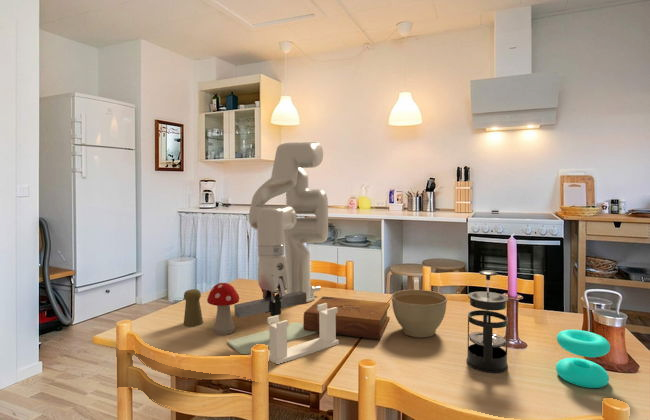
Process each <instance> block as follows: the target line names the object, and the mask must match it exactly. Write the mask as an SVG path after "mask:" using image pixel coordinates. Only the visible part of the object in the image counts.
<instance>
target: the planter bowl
mask: <svg viewBox="0 0 650 420" xmlns="http://www.w3.org/2000/svg"><path fill="white" fill-rule="evenodd" d="M390 298H391V302H392V311H393V314H394V317H395V319H396V321H397V322H398V325H400V326H401V328H402V332H403V334H405V335H407V336H410V337H412V338H429V337H433V336H434V335H436V331H437V329H438V328H439V326H440V325H441V324H442V322H443V320H444V318H445V314H446V310H447V303H448V298H447V296H446V295H444V294H443V293H440V292H437V291H432V290H427V289H405V290H399V291H396V292H394V293H392V294H391V296H390Z"/></svg>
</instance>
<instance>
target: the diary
mask: <svg viewBox="0 0 650 420" xmlns="http://www.w3.org/2000/svg"><path fill="white" fill-rule="evenodd" d="M324 303H327V309H330V308H333V307H337V308H338V313H336V335H341V336H348V337H350V336H351V337H356V338H357V337H358V338H364V339H374V340H381V339H382V336H383V334H384V332H385V330H386V328H387V326H388V324H389V322H390V319H391V318H390V316H388V310H389V308H390V306H391V303H390V302H385V301H376V300H375V301H374V300H372V301H371V300H365V299H353V298H342V297H330V296H322V297H320V298H319V299H318V300H317V301H316V302H315V303H313V304H312V305H311V306H309V308H307V309H306V310H305V311H304V313H303V325H304V330H308V331H316V332H317V333H318V332H319V311H318V310H317V305H320V304H324ZM321 311H322V310H321Z"/></svg>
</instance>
